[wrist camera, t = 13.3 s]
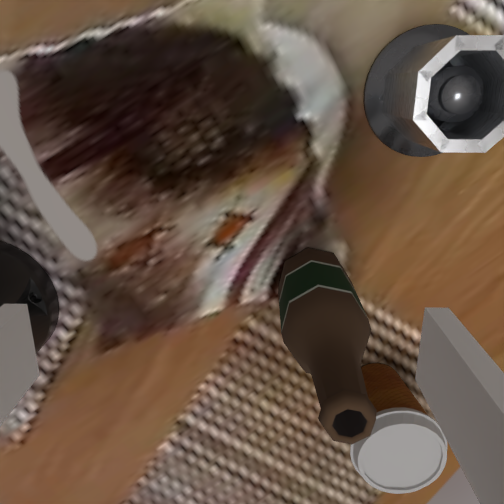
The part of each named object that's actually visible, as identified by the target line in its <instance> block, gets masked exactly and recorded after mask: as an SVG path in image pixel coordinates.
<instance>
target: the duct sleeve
mask: <svg viewBox="0 0 504 504" xmlns="http://www.w3.org/2000/svg"><path fill="white" fill-rule="evenodd" d="M448 61H449V62H450V63H451V65H452V66H466V67H470V68H472V69H474V70H475V71H476V72H477V73H478V74H479V75H480V77H481V79H482V81H483V84H484V96H483V100H482V102H481V104H480V106H479V108H478V109H477V111H476V112H475V113H474V114H473V115H472V116H470V117H469V118H467V119H465V120H463V121H460V122H453V123H452V122H444V123H443V124H442V125H441V126H439V127H437V126H436V125H435V123H434V122H433V121H432V120H431V119H430V118H429V116H428V115H427V108H428V100H429V92H430V83H431V77H432V76H433V75H434V74H435V73H437V72H438V71H439V70H440V69H441V68H442V67H443V66H444V65H445V64H446V63H447V62H448ZM382 114H383V115H384V116H385V117H386V118H387V119H388V120H389V122H390V123H391V124H392V125H393V126H394V127H395V128H396V130H397V131H398V132H399V133H400V134H401V135H402V136H403V138H404V139H406V140H409V141H411V142H414V143H417V144H420V145H422V146H425V147H428V148H430V149H433V150H436V151H438V152H480V153H486V152H487V151H488V150H489V149H490V148H491V147H492V146H494V145H495V144H496V143H497V142H498V141H499V140H501V139H502V138H503V137H504V35H456V36H452V37H448V38H445V39H441V40H437V41H433V42H429V43H426V44H422V45H418V46H414V48H413V49H411V50H410V51H409V52H408V53H407V54H406V55H405V56H404V57H403V58H402V59H401V60H400V61H399V62H398V63H397V64H396V65H395V66H394V67H393V68H392V69H391V70H390V71H389V72H388V73H387V74H386V75H385V85H384V96H383V107H382Z"/></svg>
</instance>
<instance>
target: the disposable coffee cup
mask: <svg viewBox="0 0 504 504" xmlns="http://www.w3.org/2000/svg"><path fill="white" fill-rule="evenodd" d="M361 370H362V374H363V378H364V382H365V387H366V391H367V395H368V398H369V400H370V401H371V403H372V404H373V405H374V407H375V408H376V410H377V414H376V421H375V424H374V427H373V429H372V432H371V435H370V436H369V437H367V438H365V439H362V440H360V441H358V442H356V443H354V444H351V449H350V454H351V460H352V463H353V465H354V467H355V469H356V470H357V471H358V473H359V474H360V475H361V476H362V477H363V478H364V480H365V481H366V482H367V483H369V484H370V485H371V486H373V487H374V488H376V489H378V490H381V491H384V492H388V493H396V494H402V493H410V492H414V491H417V490H419V489H421V488H423V487H426V486H428V485H429V484H431V483H432V482H433V481H435V480H436V479H437V478H438V477H439V475H440V474H441V472H442V471H443V469H444V467H445V464H446V460H447V440H446V438H445V436H444V434H443V432H442V430H441V428H440V426H439V424H438V423H437V422H436V421H435V420H434V419H432V418H431V417H429V416H428V415H427V414H426V412H425V411H424V409H423V408H422V407H421V405H420V404H419V402H418V401H417V400H416V398H415V397H414V395H413V394H412V393H411V391H410V390H409V389H408V387H407V386H406V385H405V383H404V382H403V380H402V379H401V378H400V376H399V375H398V373H397V372H396V371H395V370H394V369H393V368H392V367H390V366H388V365H385V364H381V363H372V364H368V365H365V366H363V367H361Z"/></svg>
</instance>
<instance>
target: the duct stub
mask: <svg viewBox="0 0 504 504" xmlns="http://www.w3.org/2000/svg"><path fill="white" fill-rule="evenodd" d="M456 35H469V34H467V33H466V32H464V31H462V30H460V29H458V28H455V27H452V26H448V25H439V24H434V25H425V26H420V27H417V28H414V29H412V30H409V31H407V32H405V33H403V34H401V35H399V36H398V37H397V38H395V39H394V40H392V41H391V42H390V43H389V44H388V45H387V46H386V47H385V48H384V49H383V50H382V51H381V52H380V54H379V55H378V56H377V58H376V59H375V61H374V63H373V65H372V66H371V68H370V71H369V73H368V76H367V80H366V83H365V89H364V108H365V113H366V117H367V120H368V122H369V125H370V127H371V128H372V130H373V132H374V133H375V135H376V136H377V137H378V138H379V139H380V140H381V141H382V142H383V143H384V144H385V145H387V146H388V147H389V148H391V149H393V150H395V151H397V152H399V153H402V154H405V155H409V156H417V157H424V156H432V155H437V154H440V153H443V152H438V151H436V150H433V149H430V148H428V147H425V146H422V145H420V144H417V143H414V142H411V141H409V140H406V139H404V138H403V136H402V135H401V134H400V133H399V132H398V131H397V130H396V128H395V127H394V126H393V125H392V124H391V123H390V122H389V120H388V119H387V118H386V117H385V116H384V115H383V114H382V107H383V96H384V85H385V75H386V74H387V73H388V72H389V71H390V70H391V69H392V68H393V67H394V66H395V65H396V64H397V63H398V62H399V61H400V60H401V59H402V58H403V57H404V56H405V55H406V54H407V53H408V52H409V51H410V50H411V49H413V48H414V46H418V45H422V44H426V43H429V42H433V41H437V40H441V39H445V38H448V37H452V36H456ZM483 96H484V84H483V81H482V79H481V77H480V75H479V74H478V73H477V72H476V71H475V70H474V69H472V68H470V67H466V66H452V65H451V63H450V62H449V61H448V62H447V63H446V64H445V65H444V66H443V67H442V68H441V69H440V70H439V71H438V72H437V73H435V74H434V75H433V76H432V77H431V83H430V92H429V100H428V108H427V115H428V116H429V118H430V119H431V120H432V121H433V122H434V123H435V125H436V126H437V127H439V126H441V125H442V124H443V123H444V122H452V123H453V122H460V121H463V120H465V119H467V118H469V117H470V116H472V115H473V114H474V113H475V112H476V111H477V109H478V108H479V106H480V104H481V102H482V100H483Z"/></svg>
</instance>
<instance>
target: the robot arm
mask: <svg viewBox="0 0 504 504" xmlns="http://www.w3.org/2000/svg"><path fill="white" fill-rule="evenodd" d="M58 313H59V306H58V299H57V295H56V292H55V289H54V286H53V284H52V282H51V280H50V279H49V277H48V275H47V274H46V273H45V271H44V270H43V269H42V268H41V266H40V265H39V264H38V263H37V262H36V261H35V260H34V259H32V258H31V257H30V256H29V255H27V254H26V253H24V252H23V251H21V250H19V249H18V248H16V247H14V246H12V245H9V244H7V243H4V242H1V241H0V426H1V424H2V423H3V422H4V421H5V419H6V418H7V417H8V415H9V414H10V413H11V411H12V410H13V409H14V408H15V406H16V405H17V404H18V402H19V401H20V400H21V398H22V397H23V396H24V395H25V393H26V392H27V391H28V389H29V388H30V387H31V385H32V384H33V383H34V382H35V380H36V379H37V378H38V376H39V375H40V374H39V368H38V363H37V357H36V353H37V352H38V351H39V350H40V349H41V348H42V346H43V345H44V344H45V343H46V342H47V340H48V339H49V338H50V337H51V335H52V333H53V332H54V330H55V327H56V324H57V320H58ZM415 380H416V382H417V384H418V386H419V388H420V390H421V392H422V394H423V396H424V397H425V399H426V401H427V403H428V405H429V407H430V409H431V411H432V413H433V415H434V417H435V418H436V420H437V422H438V424H439V426H440V428H441V430H442V432H443V434H444V436H445V438H446V439H447V441H448V443H449V445H450V447H451V449H452V451H453V453H454V455H455V457H456V459H457V460H458V462H459V464H460V466H461V468H462V470H463V472H464V474H465V476H466V478H467V480H468V481H469V483H470V485H471V487H472V489H473V491H474V493H475V495H476V496H477V499H478V500H479V502H480V504H504V373H503V372H502V371H501V369H500V368H499V367H498V366H497V365H496V363H495V362H494V361H493V360H492V359H491V358H490V356H489V355H488V354H487V353H486V352H485V350H484V349H483V348H482V347H481V346H480V345H479V343H478V342H477V341H476V340H475V339H474V337H473V336H472V335H471V334H470V333H469V331H468V330H467V329H466V328H465V327H464V326H463V324H462V323H461V322H460V321H459V320H458V318H457V317H456V316H455V315H454V314H453V313H452V311H451V310H450V309H449V308H425V311H424V319H423V326H422V333H421V340H420V348H419V355H418V362H417V369H416V377H415Z"/></svg>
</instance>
